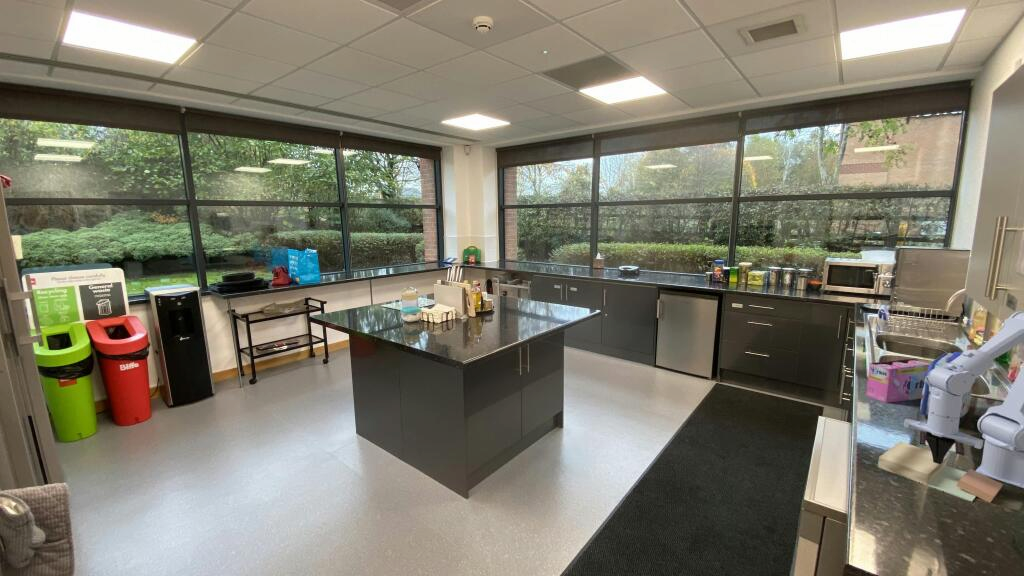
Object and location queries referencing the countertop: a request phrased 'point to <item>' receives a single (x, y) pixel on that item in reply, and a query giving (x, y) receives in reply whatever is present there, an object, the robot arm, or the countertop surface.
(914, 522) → the countertop surface
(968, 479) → the tile
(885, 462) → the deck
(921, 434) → the chocolate bar
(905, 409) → the countertop surface
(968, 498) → the mat
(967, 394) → the lunch box
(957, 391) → the robot arm
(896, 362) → the gum box
